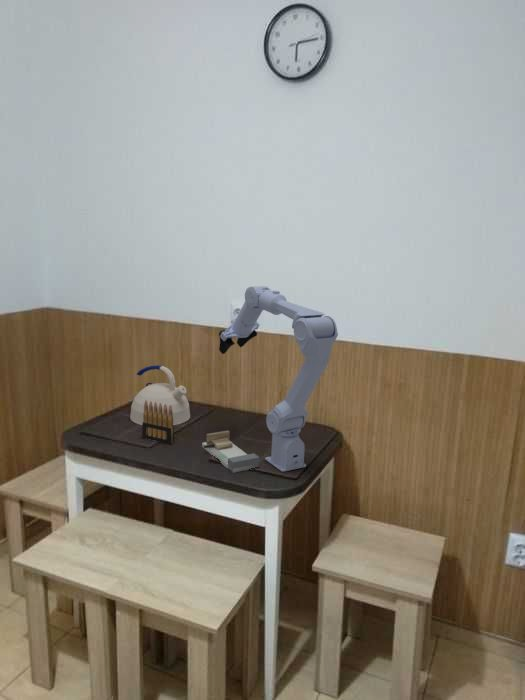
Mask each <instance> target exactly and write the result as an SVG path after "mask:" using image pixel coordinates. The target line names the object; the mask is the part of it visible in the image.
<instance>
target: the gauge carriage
mask: <svg viewBox="0 0 525 700" xmlns="http://www.w3.org/2000/svg"><path fill="white" fill-rule="evenodd" d="M230 434H231V433H230V430H223V431H216V432H211V433H206V435H205V436H206V439H205V440H206V441H205V442H206V444H207V445H205V446H204V448H210V447H215V448H216V449H222V448H227V447H233V444H234V443H233V442H232V441H231V440H230V438H231V437H230ZM204 448H203V449H204Z"/></svg>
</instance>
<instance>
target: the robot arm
mask: <svg viewBox="0 0 525 700" xmlns="http://www.w3.org/2000/svg"><path fill="white" fill-rule="evenodd" d="M263 311H265V312H268V313H271V314H272V315H275V316H279V315H281V314H282V315H284V316H286V317H287V318H289V319H291V320H292V324H291V329H293V334H294V338H295V340H296V343H297V345H298V348H299V350H300V352H301V355H303V356H304V357H305V358H304V360H303V363H302V364H301V367H300V369H299V371H298V373H297V374H296V377H295V378H294V381H293V382H292V384H291V386H290V388H289V390H288V392H287V394H286V397H284V399H283V400H282V401H281V402H279V403H278V404H276V405H275V406H274V407H273V409H271V410H270V411H269V412H268V413H267V415H266V426H267V429H268V430H269V433H271V435H272V436H271V452H270V453H271V454H270V456H267V457H266V456H265V457H264V460H265V461H267V462H268V463H269V464H270V465H272V466H273V467H275V468H276V469H278V470H279V471H280V472H288V471H293V470H297V469H302V468H306V467H307V465H306V463H305V452H306V451H305V448H306V447H305V446H306V445H305V443H304V441H303V440H302V439H301V438H300V436H299V433H301V429H302V428H304V427H305V424H306V420H307V419H306V418H307V416H308V414H309V411H308V409H307V407H306V404H307V402H308V400H309V399H310V397H311V395H312V394H313V391H314V389H315V387H316V386H317V384H318V382H319V380H320V379H321V377H322V376H323V373H324V371H325V370H326V368H327V366H328V364H329V362H330V359H331V354H332V349H333V345H334V344H335V341H336V340H337V338H338V336H339V333H338V327H337V323H336V321H335V319H334V318H333V317H332V316H329V315H325V313H323V312H322V311H318V310H314V309H312V308H309V307H304V306H302V305H298V304H297V303H296V304H295V303H292V302H290V301H288V300H287V298H286V296H285V295H283V294H281V293H280V291H279V290H271V288H269V287H268V286H264V285H263V286H249V287H247V288H246V289H245V293H244V302H243V304H242V307H241V308H240V309H239V312H238V314H237V316H236V318H233V319H231V320H230V323H231V325H229V326H228V327H227V328H226V329H222V330H220V331H219V333H218V336H219V348H218V351H219V352H220V354H222V355H224V354H226V353H227V352H228V351H229V349H230V348H231V347H232V346H234V345H236V344H237V345H238V346H239V348H242V347H243V346H245V345H246V344H247V342H249V341H250V340H252V339H254V338H255V337H256V336H258V332H257V331H256V330H258V329H259V327H260V324H259V322H258V319H259V318H260V316H261V314H262V312H263ZM233 338H234V339H235V338H236V340H237V341H236V344H235V342H234V340H233Z"/></svg>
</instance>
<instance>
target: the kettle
mask: <svg viewBox="0 0 525 700" xmlns="http://www.w3.org/2000/svg"><path fill="white" fill-rule="evenodd" d="M151 370H159V371H163V373H165V374H166V376H167V378H168V381H169V382H168V383H166V382H156V383H152V382H147V383H146V384H145V387H144V388H142V389H141V390H140V391H139V392H138V393H137V394H136V395H135V397H134V399H133V401H132V403H131V406H130V416H129V418H130V421H131V422H133V423H134V424H137V425H139V426H142V423H143V414H144V404H145V401H146V400H147V403H148V412H149V404H150V401H151V402H152V405H153V411H154V404H155V402H156V403H157V408H158V409H159V404H160V403H161V405H162V412H163V410H164V405H165V404H166V406H167V413H168V411H169V406H170V405H171V407H172V414H173V425H174V426H177V425H181V424H184V423H186V422H187V421H189V420H190V418H191V410H190V403H189V401H188V398H187V396H186V394H187V388H186V387H185V386H184V385H179V386H178V387H177V386H176V379H175V378H176V377H175V375H174V373H173V372H172V371H171V370H170V369H169V368H168V367H166V366H163V365H150V366H146V367H143V368H141V369H140V370H138V372H137V373H136V375H137V376H142V375H143V374H144V373H146V372H148V371H151Z"/></svg>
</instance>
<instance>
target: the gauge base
mask: <svg viewBox="0 0 525 700" xmlns="http://www.w3.org/2000/svg"><path fill="white" fill-rule="evenodd" d="M205 445H207V444H206V441H205V442H204V441H203V442H202V443H201V447H202V448H203V449H204V450H205V451H206V452H207V453H209V454H210V455H211V456H212V455H213V456H212V457H214V456H215V457H216V458H218V459H219V460H220V461H221V462H220V463H221V464H222V465H223V466H224V467H225V468H226V469H227V470H229V471H230V472H231V473H232V474H235V473H239V472H245V471H248V470H249V469H250V470H252V469H251V468H255V467H259V468H260V456H259V455H258V454H256V453H246V452H245V451H243V449H241V448H239V447H238V446H237V445H236V444H235V443H233V447H227V448H222V449H216V448H215V447H210V448H204V446H205ZM215 457H214V458H215ZM216 458H215V459H216ZM255 469H256V468H255ZM250 470H249V471H250Z"/></svg>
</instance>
